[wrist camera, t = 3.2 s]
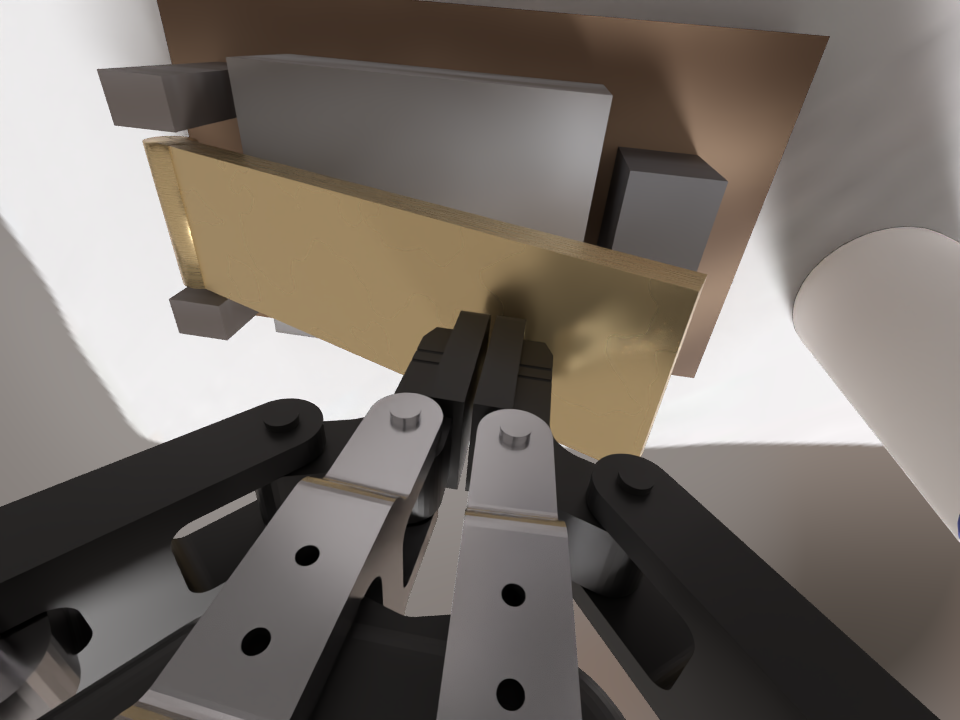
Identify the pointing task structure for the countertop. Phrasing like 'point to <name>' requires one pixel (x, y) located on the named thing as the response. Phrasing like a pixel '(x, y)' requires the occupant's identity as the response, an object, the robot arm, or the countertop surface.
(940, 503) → the cylindrical container
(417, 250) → the plate
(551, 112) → the stand
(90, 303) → the countertop surface
